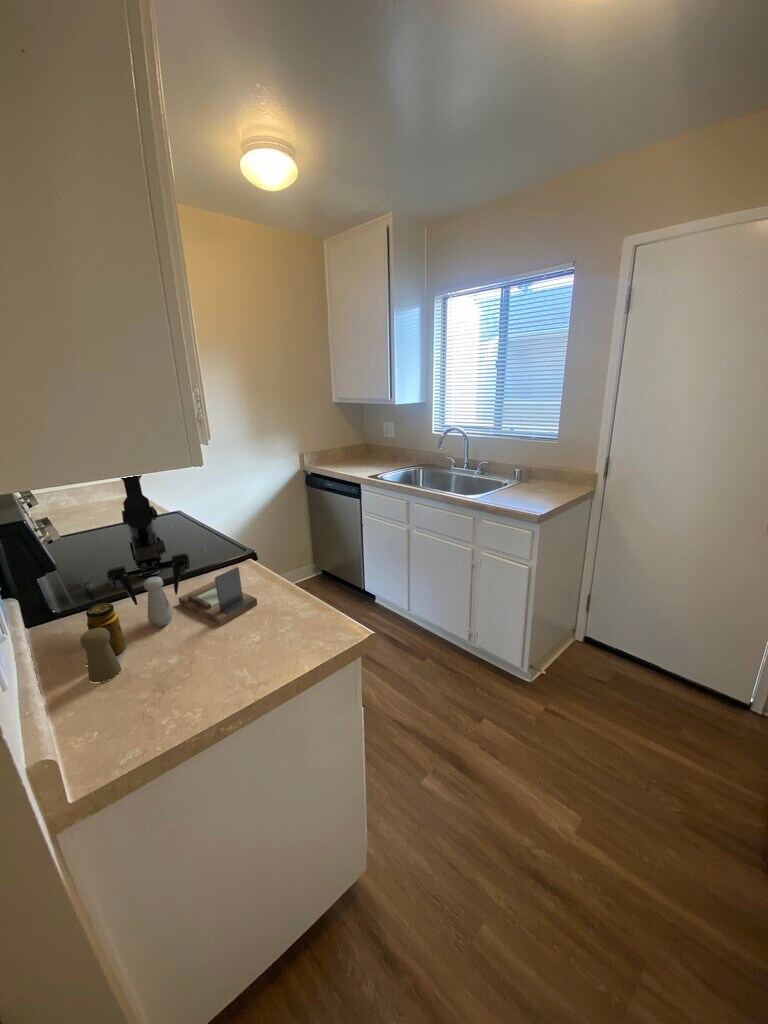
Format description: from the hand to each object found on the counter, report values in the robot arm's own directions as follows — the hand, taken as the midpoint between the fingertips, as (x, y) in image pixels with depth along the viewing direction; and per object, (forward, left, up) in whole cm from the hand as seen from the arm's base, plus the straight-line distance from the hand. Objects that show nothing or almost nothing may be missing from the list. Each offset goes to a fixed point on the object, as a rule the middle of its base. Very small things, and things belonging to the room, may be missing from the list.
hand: (156, 599), depth 106 cm
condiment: (+12, -7, -8) cm, 16 cm away
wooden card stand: (-9, +12, -7) cm, 16 cm away
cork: (+19, -4, -8) cm, 20 cm away
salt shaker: (0, 0, -8) cm, 8 cm away
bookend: (-4, +18, -5) cm, 19 cm away
